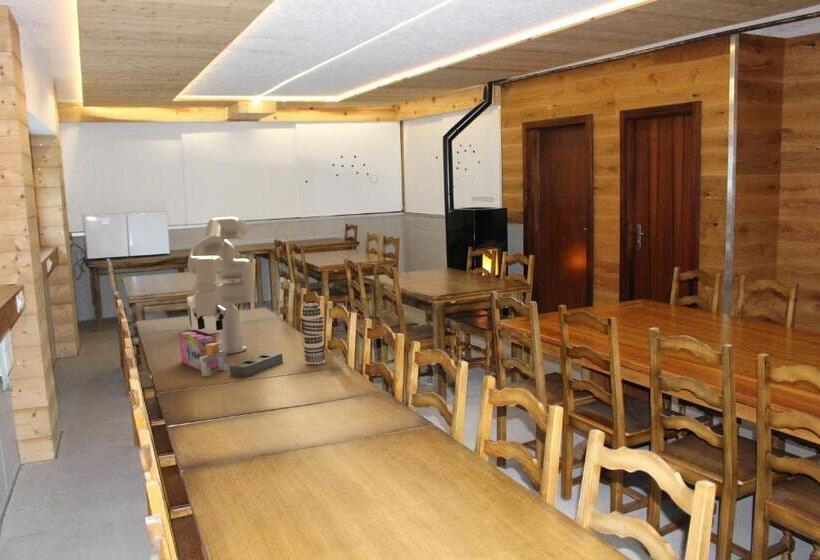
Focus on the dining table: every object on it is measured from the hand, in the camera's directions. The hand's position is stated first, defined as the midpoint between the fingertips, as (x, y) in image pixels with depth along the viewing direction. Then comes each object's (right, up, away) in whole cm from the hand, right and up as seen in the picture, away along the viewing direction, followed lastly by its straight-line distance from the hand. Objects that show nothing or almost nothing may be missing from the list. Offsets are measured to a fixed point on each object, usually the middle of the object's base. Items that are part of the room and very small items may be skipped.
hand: (210, 329), depth 306 cm
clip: (+1, -18, +3) cm, 18 cm away
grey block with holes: (+18, -17, +5) cm, 25 cm away
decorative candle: (+41, -15, +11) cm, 45 cm away
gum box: (-9, -17, +19) cm, 27 cm away
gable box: (-28, -7, +95) cm, 99 cm away
